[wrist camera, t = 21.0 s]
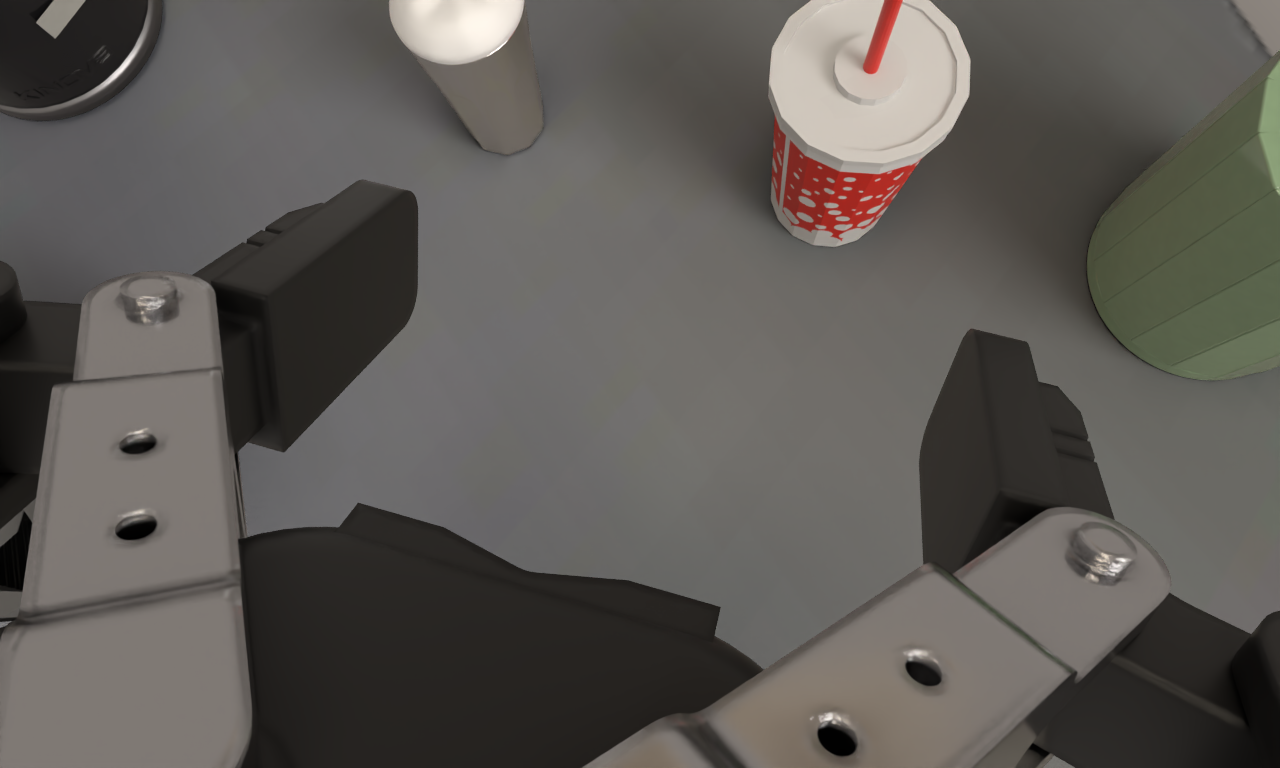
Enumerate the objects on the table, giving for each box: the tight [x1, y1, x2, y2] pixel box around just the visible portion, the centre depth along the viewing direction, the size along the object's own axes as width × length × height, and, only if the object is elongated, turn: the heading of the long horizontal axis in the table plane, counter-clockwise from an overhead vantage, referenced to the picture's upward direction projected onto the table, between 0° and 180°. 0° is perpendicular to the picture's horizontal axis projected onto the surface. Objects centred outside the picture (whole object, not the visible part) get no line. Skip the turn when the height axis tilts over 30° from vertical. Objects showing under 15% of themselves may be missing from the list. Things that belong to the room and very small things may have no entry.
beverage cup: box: [768, 0, 970, 247], centre depth 29 cm, size 6×6×14 cm
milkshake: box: [389, 0, 544, 155], centre depth 33 cm, size 4×5×10 cm
